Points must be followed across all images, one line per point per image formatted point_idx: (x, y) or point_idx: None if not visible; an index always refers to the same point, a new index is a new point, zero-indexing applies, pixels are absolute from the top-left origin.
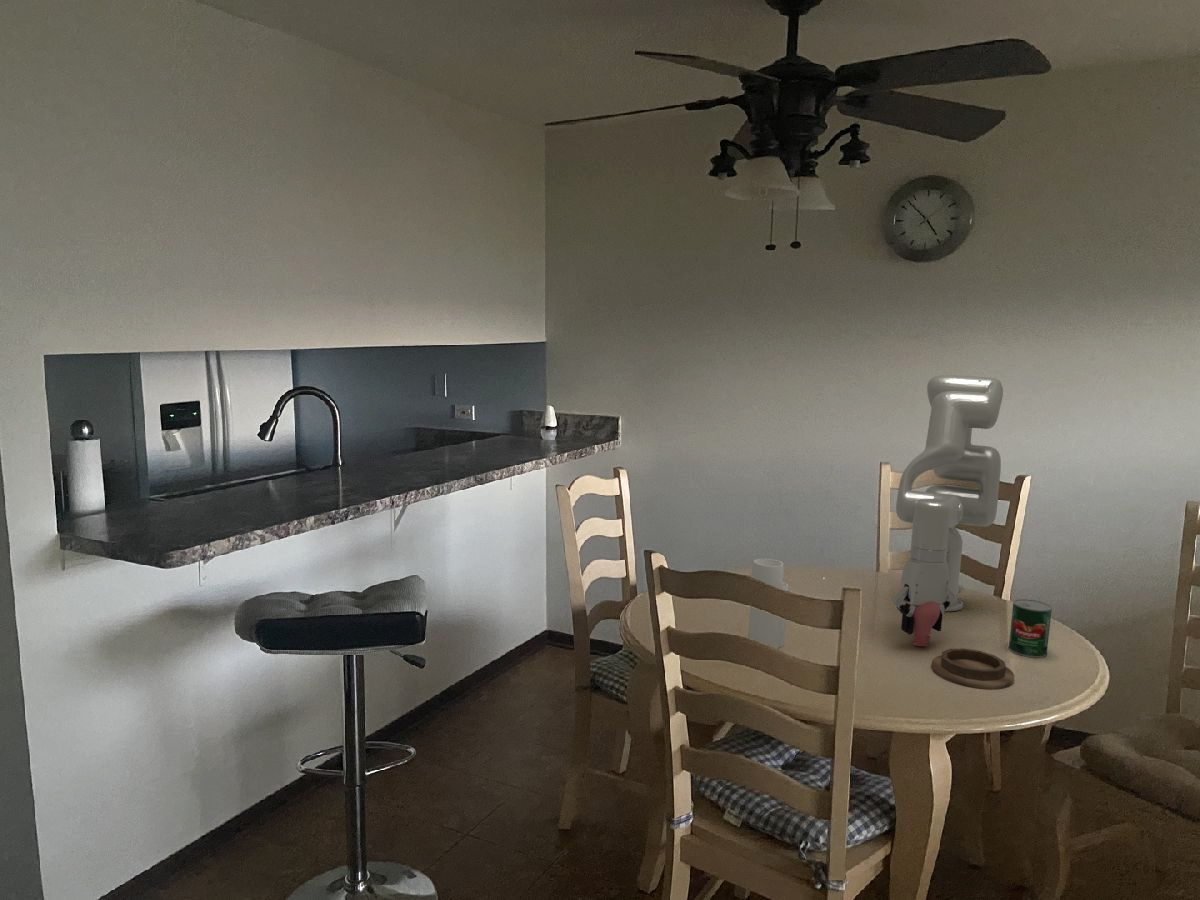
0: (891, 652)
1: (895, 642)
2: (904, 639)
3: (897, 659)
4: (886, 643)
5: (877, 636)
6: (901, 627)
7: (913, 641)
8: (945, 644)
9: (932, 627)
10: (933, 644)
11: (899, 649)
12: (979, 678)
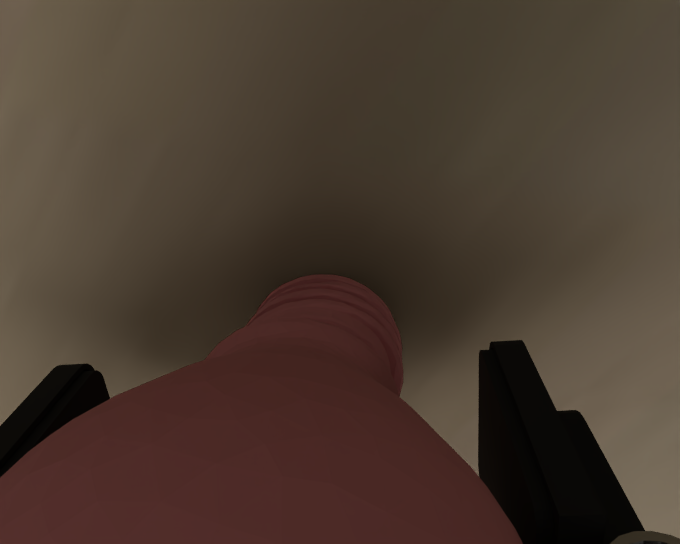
0: (5, 386)
1: (133, 200)
2: (267, 141)
3: None
4: (33, 208)
5: (4, 3)
6: (50, 373)
7: (263, 305)
8: (588, 324)
9: (479, 403)
10: (474, 305)
11: (97, 347)
12: None
